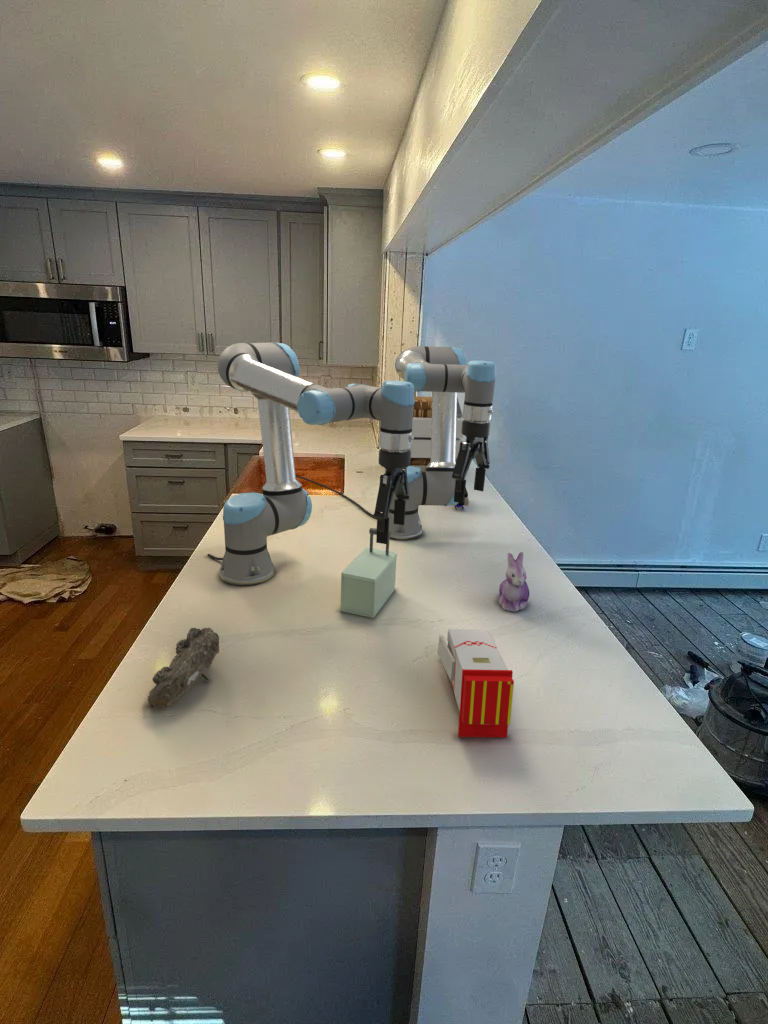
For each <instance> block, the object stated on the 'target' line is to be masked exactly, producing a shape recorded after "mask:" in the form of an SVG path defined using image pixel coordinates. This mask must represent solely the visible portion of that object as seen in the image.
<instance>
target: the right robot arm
mask: <svg viewBox="0 0 768 1024" xmlns="http://www.w3.org/2000/svg"><path fill="white" fill-rule="evenodd" d="M394 368H395V372H396V373H397V375H398V376H399V377H400V378H401V379H403V381H406V382H410V383H412V384H413V386H414V392H417V393H419V392H430V393H431V397H432V419H431V461H430V463H429V464H428V465H427V466H425V471H422V469H421V467H420V466H408V467H407V480H408V490H409V494H408V496H409V500H406V499H405V500H406V505H405V523H404V525H398V524H394V505H395V499H398V498H396V495H395V493H394V495H393V498H392V502H391V506H390V510H389V514H388V517H389V531H390V532H391V535H390V537H389V540H395V541H410V540H415V539H418V538H420V537H421V536H422V535H423V525H422V524H421V523H422V521H421V518H420V515H419V507H420V506H442V507H448V506H453V505H457V504H458V503H462V504H463V503H464V498H465V487H466V486H467V479H466V476H467V475H468V471H469V469H470V466H471V464H472V461H473V460H474V459H475V462H476V465H477V467H475V473H474V482H473V483H474V484H473V485H474V486H473V491H478V492H484V489H485V481H486V471H487V470H489V469H490V463H491V462H490V452H489V451H490V450H489V436H490V432H491V422H490V421H491V420H492V414H493V413H494V410H493V404H494V403H493V402H494V394H495V387H496V380H497V363H495V362H494V361H489V360H480V359H479V360H477V359H476V360H470V361H468V360H467V356H466V353H465V351H464V349H462V348H461V347H452V346H426V345H417V346H412V347H409V348H406V349H404V350H403V351H400V353H399V354H397V357H396V359H395V362H394ZM458 393H459V394H460V393H461V394H462V393H463V394H464V398H463V400H464V402H463V408H462V419H464V420H463V422H462V430H461V433H462V434H463V436H465V442H464V441H463V442H460V448H459V453H458V456H457V460H456V462H455V454H456V414H457V398H458ZM295 475H296V478H300V479H301V480H304V481H307V482H308V483H309V482H310V483H312V484H315V485H317V486H319V487H321V488H325V489H327V490H329V491H332V492H333V493H335V494H338V495H339V496H341V497H343V498H345V499H346V500H347V501H350V502H351V503H352V504H354V505H356V507H358V508H359V509H361V511H363V512H364V513H366V514H367V515H369V516H370V517H372V518H373V519H375V520H377V518H376V517H373V513H371V512H369V511H368V510H367V509H365V508H364V507H363V506H362V505H360V504H359V503H358V502H356V501H355V500H354V499H352V498H350V497H348V496H347V495H345V494H343V493H342V492H340V491H338V490H336V489H333V488H331V487H329V486H327V485H324V484H322V483H319V482H317V481H315V480H312V479H310V478H307V477H303V476H301V475H299V474H296V473H295ZM466 488H467V487H466Z"/></svg>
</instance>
